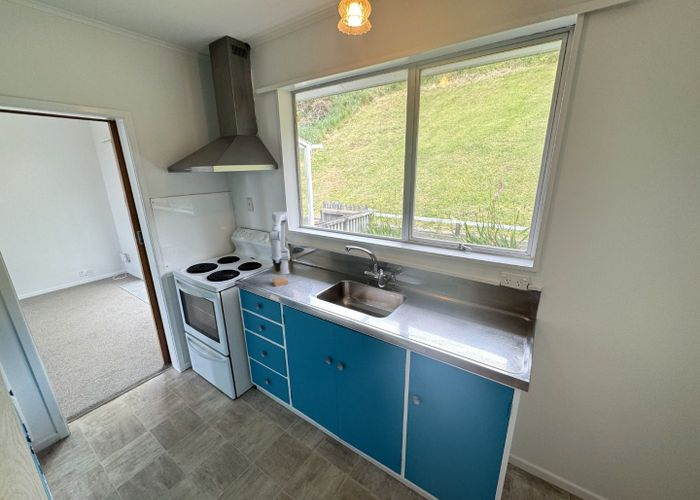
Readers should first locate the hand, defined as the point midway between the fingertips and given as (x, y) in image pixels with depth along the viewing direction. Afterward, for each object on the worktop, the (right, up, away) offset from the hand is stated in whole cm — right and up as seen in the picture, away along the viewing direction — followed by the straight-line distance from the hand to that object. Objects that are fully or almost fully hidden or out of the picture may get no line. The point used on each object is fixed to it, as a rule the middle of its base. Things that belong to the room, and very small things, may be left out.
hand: (277, 270), depth 181 cm
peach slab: (+1, -9, +2) cm, 9 cm away
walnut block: (0, -2, 0) cm, 2 cm away
